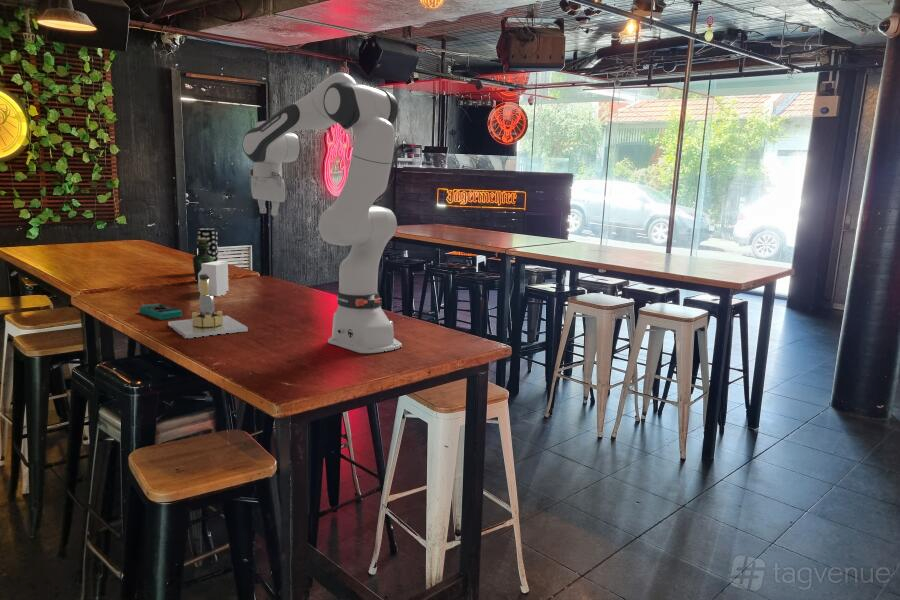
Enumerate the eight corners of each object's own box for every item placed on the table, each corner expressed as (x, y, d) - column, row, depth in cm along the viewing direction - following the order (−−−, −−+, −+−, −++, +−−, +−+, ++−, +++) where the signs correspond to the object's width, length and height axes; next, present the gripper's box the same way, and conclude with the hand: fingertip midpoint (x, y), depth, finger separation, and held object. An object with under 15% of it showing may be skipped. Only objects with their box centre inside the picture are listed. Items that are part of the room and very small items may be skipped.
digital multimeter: (160, 310, 217) (160, 302, 216) (183, 318, 208) (182, 309, 207) (138, 314, 211) (138, 305, 211) (160, 321, 202) (160, 312, 202)
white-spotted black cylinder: (206, 275, 284) (205, 230, 280) (194, 273, 288) (193, 228, 284) (222, 273, 291) (221, 229, 287) (210, 271, 295) (209, 227, 291)
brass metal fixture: (223, 325, 193) (222, 281, 190) (193, 327, 189) (191, 282, 186) (219, 315, 205) (218, 273, 203) (191, 317, 202) (189, 274, 199)
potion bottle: (189, 281, 269) (187, 238, 265) (206, 279, 275) (204, 237, 272) (201, 283, 264) (199, 240, 261) (218, 281, 271) (216, 239, 267)
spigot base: (247, 331, 193) (247, 298, 191) (185, 338, 183) (184, 304, 181) (225, 318, 209) (224, 287, 207) (167, 324, 198) (165, 292, 196)
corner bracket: (216, 297, 241) (215, 265, 238) (192, 293, 244) (191, 262, 242) (235, 292, 250) (234, 261, 248) (211, 289, 254) (210, 259, 252)
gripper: (290, 173, 205) (290, 216, 207) (265, 171, 220) (266, 212, 223) (271, 172, 201) (271, 217, 204) (247, 170, 217) (248, 212, 219)
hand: (268, 214), depth 213 cm, fingers open, 8 cm apart
